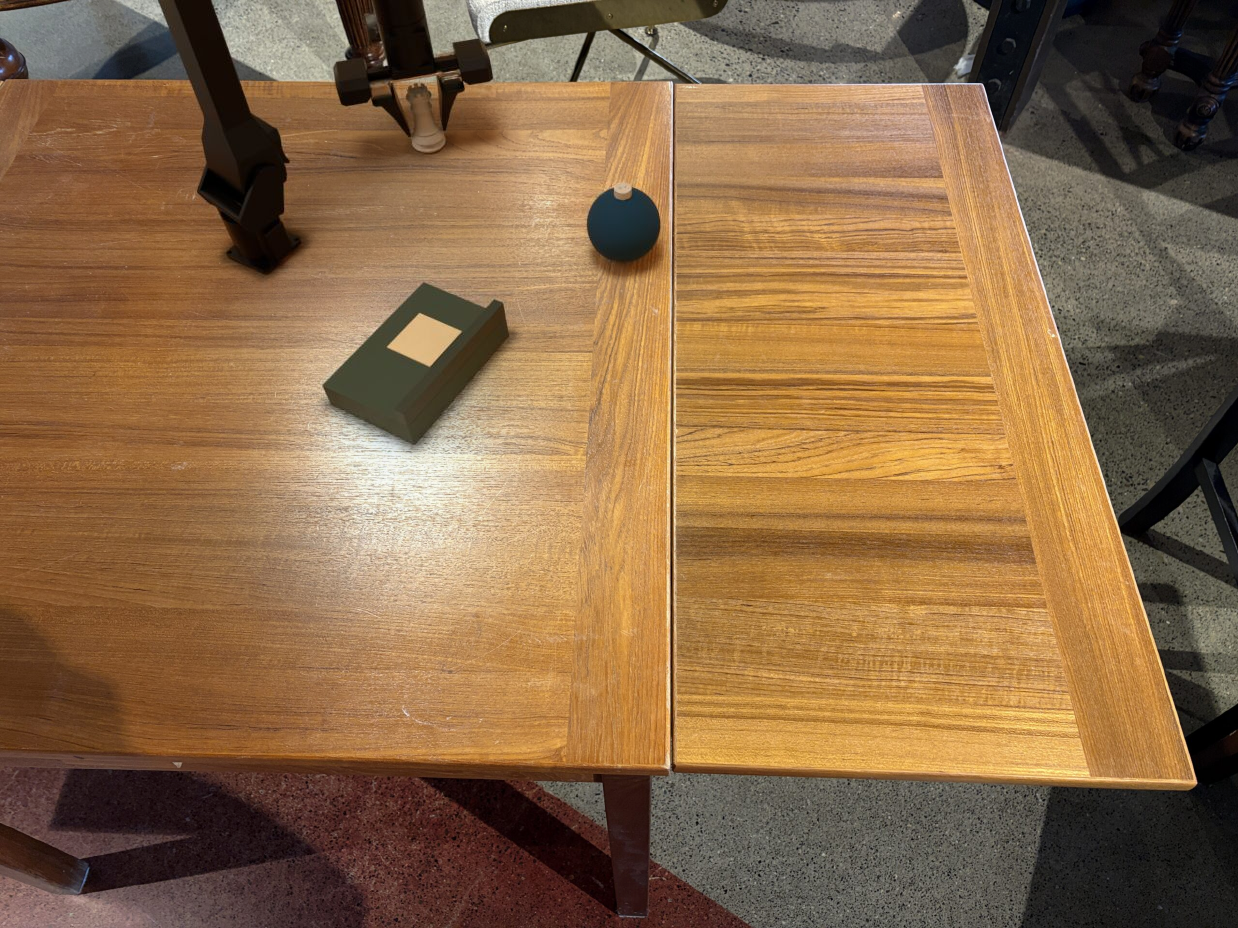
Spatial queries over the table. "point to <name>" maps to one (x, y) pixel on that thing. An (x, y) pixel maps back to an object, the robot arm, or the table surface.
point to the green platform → (418, 361)
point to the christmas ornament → (623, 223)
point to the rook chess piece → (424, 121)
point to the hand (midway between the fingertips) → (427, 132)
